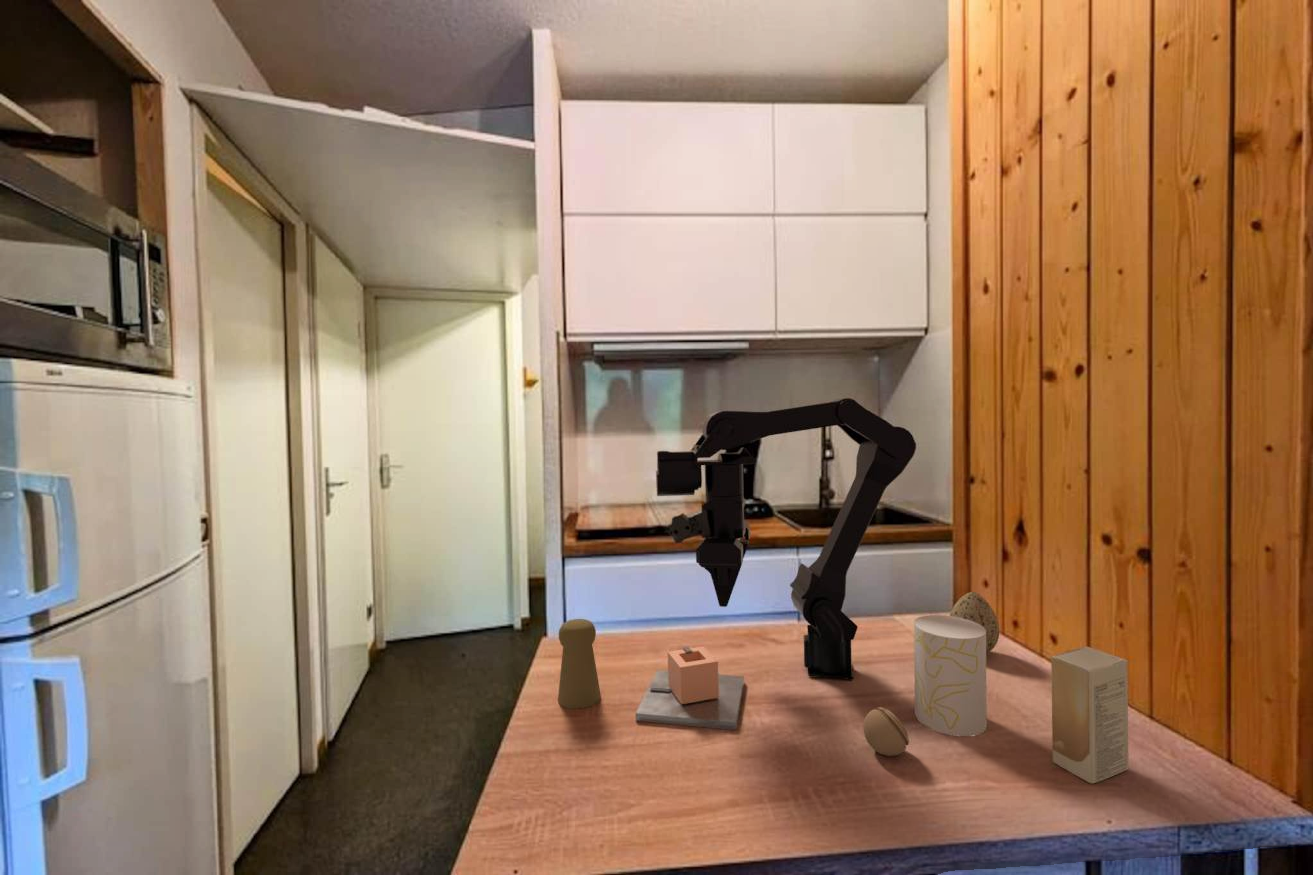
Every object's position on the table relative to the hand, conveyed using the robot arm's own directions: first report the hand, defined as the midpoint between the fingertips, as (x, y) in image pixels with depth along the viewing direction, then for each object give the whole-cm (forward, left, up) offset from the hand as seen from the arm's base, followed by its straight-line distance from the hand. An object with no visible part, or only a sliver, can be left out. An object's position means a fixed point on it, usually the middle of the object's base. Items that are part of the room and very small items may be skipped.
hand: (726, 596), depth 87 cm
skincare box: (-41, +16, -12) cm, 46 cm away
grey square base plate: (+4, +9, -12) cm, 16 cm away
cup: (-29, +8, -12) cm, 32 cm away
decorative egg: (-38, -14, -12) cm, 42 cm away
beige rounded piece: (-20, +17, -12) cm, 29 cm away
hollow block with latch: (+4, +9, -11) cm, 15 cm away
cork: (+20, +11, -12) cm, 26 cm away
